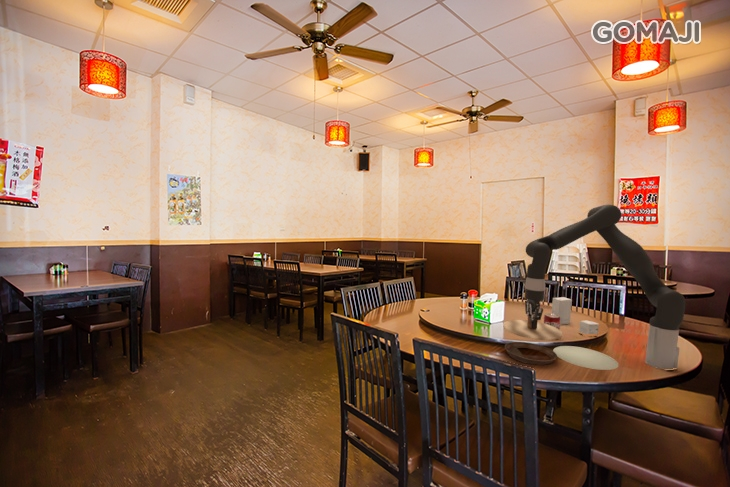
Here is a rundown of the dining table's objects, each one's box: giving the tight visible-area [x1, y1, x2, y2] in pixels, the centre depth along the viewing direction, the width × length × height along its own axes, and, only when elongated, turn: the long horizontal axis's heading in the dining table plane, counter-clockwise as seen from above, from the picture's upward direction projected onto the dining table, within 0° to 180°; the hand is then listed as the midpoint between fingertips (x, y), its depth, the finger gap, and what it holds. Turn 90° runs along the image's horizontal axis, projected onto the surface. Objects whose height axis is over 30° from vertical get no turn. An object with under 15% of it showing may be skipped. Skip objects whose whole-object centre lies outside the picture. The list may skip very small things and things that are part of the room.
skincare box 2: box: [578, 319, 600, 334], centre depth 175 cm, size 6×6×7 cm
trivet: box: [552, 345, 619, 371], centre depth 147 cm, size 24×24×1 cm
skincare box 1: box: [551, 296, 573, 326], centre depth 194 cm, size 8×6×15 cm
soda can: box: [543, 312, 561, 331], centre depth 170 cm, size 7×7×12 cm
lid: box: [502, 316, 563, 341], centre depth 146 cm, size 23×23×6 cm
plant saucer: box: [504, 341, 557, 366], centre depth 147 cm, size 21×21×3 cm
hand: (532, 326), depth 146 cm, fingers closed on lid, 3 cm apart
